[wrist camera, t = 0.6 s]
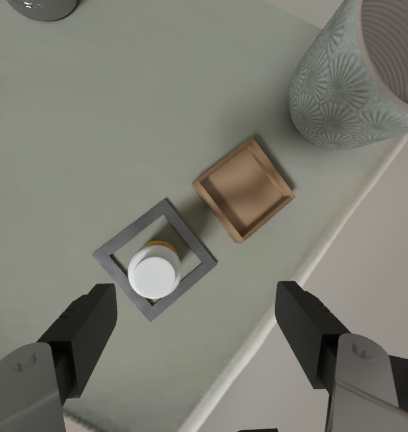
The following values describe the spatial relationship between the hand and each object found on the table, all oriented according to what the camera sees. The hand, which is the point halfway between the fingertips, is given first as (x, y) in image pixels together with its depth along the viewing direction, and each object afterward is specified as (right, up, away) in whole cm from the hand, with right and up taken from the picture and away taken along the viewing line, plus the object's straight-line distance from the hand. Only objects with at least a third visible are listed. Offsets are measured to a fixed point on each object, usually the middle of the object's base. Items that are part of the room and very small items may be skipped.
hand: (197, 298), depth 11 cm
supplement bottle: (-6, -2, +20) cm, 21 cm away
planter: (+19, +21, +25) cm, 38 cm away
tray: (+6, +8, +22) cm, 24 cm away
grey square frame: (-6, -2, +19) cm, 20 cm away
